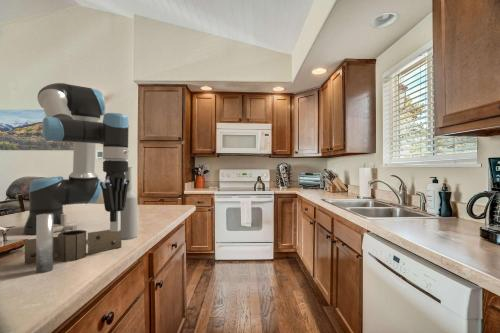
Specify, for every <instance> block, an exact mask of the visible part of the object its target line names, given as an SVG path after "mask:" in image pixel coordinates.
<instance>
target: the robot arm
mask: <svg viewBox="0 0 500 333" xmlns="http://www.w3.org/2000/svg"><path fill="white" fill-rule="evenodd" d="M37 102H38V105H39V106H40V108H42V109H43V110H44V115H45V117H44V118H43V119H42V124H41V127H42V128H41V130H42V131H41V133H42V137H43V139H44V140H45V141H52V142H56V143H57V142H61V143H62V142H63V143H64V142H65V143H73V156H72V158H73V160H72V162H73V163H72V172H71V173H69V175H68V179H64V177H63V176H53V177H50V176H49V177H45V178H44V177H43V178H37V179H36V178H35V179H33V180H31V181H30V182H29V190H28V193H29V206H28V207H29V211H28V212H29V213H28V214H29V215H28V216H27V219H26V222H25V225H24V227H23V234H24V235H36V215H39V214H53V224H54V225H61V214H65V213H64V210H63V209H64V208H63V207H64V206H69V205H79V204H80V205H81V204H87V205H88V204H91V203H92V204H93V203H95V202H97V201H99V200H100V197H101V195H102V197H103V204H104V210H105V211H106V212H109V230H110V231H120V223H121V211H123V210H124V209H123V208H124V207H125V203H126V196H127V189H128V185H129V180H126V179H125V172H127V171H128V167H129V162H128V161H127V160H128V159H129V128H130V125H129V116H128V115H127V114H125V113H124V114H123V113H117V112H106V100H105V96H104V94H103V92H102V91H101V90H99V89H97V88H92V87H87V86H81V85H75V84H69V83H64V82H56V83H55V82H54V83H50V84H47V85H45V86H43V87H42V88H41V89H40V90H39V91H38V94H37ZM101 116H102V118H103V119H102V122H99V120H101ZM96 144H98V145H99V144H100V145H102V159H104V160H103V161H102V171H103V172H104V173H106V174H105V178H104V179H105V180H104V181H102V179H101V178H99V176H98V174H97V173H96V172H95V168H96V167H95V166H96V165H95V163H96V146H97V145H96Z"/></svg>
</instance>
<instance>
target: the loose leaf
mask: <svg viewBox="0 0 500 333" xmlns="http://www.w3.org/2000/svg"><path fill="white" fill-rule="evenodd" d="M121 237H122V228H120V231H110V229H104V230H99V231H92V232H87V254H93V253H94V254H95V253H98V252H104V251H109V250H113V249H118V248H122V239H121Z"/></svg>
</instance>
